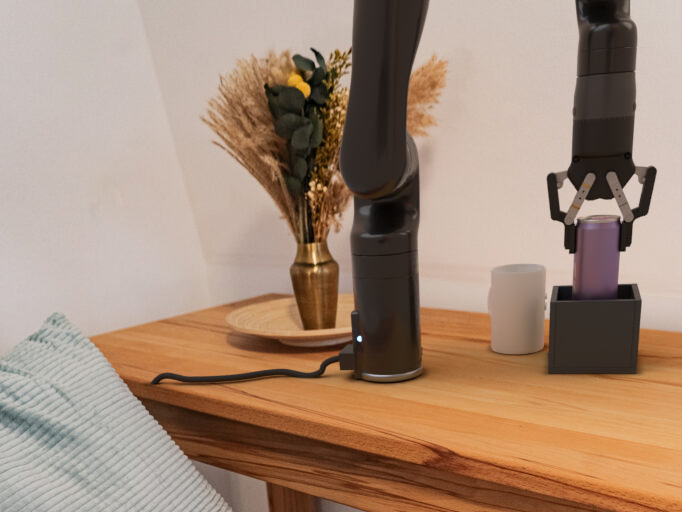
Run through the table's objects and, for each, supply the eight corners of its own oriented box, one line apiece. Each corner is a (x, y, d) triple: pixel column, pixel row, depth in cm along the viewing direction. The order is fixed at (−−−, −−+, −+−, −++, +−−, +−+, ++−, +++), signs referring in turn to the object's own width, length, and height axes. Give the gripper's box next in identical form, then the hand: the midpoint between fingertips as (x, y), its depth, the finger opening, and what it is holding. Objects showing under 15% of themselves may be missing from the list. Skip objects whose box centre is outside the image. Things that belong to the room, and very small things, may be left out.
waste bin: (547, 373, 116) (550, 302, 112) (550, 351, 126) (553, 285, 122) (636, 373, 113) (641, 300, 109) (632, 351, 123) (637, 283, 119)
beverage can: (616, 334, 114) (624, 218, 108) (571, 335, 116) (576, 221, 109) (613, 324, 120) (620, 213, 113) (569, 325, 121) (574, 215, 114)
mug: (513, 334, 138) (514, 258, 133) (555, 348, 128) (558, 267, 122) (469, 341, 135) (468, 265, 130) (508, 357, 125) (509, 275, 120)
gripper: (661, 109, 107) (651, 245, 114) (546, 118, 111) (543, 250, 118) (666, 110, 101) (655, 254, 108) (544, 119, 105) (540, 258, 112)
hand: (596, 251), depth 113 cm, fingers closed on beverage can, 6 cm apart
